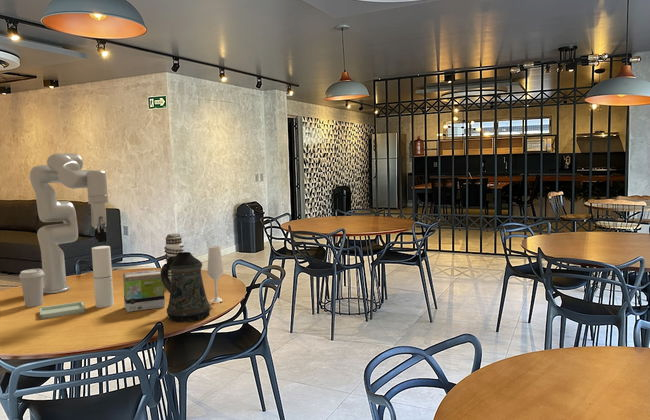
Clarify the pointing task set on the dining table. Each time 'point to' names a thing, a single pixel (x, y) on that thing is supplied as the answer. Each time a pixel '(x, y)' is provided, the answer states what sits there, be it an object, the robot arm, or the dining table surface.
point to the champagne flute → (215, 267)
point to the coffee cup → (32, 287)
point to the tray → (62, 310)
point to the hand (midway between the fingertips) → (101, 240)
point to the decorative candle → (173, 247)
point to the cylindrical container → (102, 276)
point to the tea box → (143, 290)
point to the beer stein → (185, 288)
